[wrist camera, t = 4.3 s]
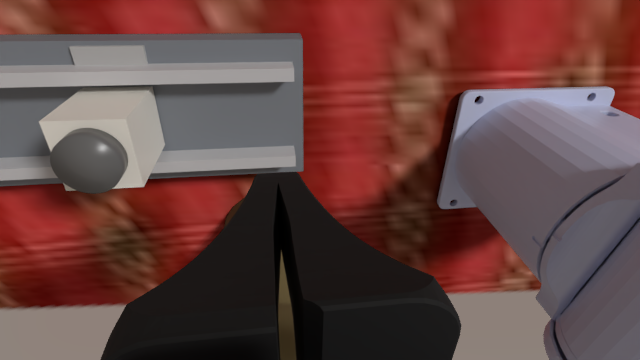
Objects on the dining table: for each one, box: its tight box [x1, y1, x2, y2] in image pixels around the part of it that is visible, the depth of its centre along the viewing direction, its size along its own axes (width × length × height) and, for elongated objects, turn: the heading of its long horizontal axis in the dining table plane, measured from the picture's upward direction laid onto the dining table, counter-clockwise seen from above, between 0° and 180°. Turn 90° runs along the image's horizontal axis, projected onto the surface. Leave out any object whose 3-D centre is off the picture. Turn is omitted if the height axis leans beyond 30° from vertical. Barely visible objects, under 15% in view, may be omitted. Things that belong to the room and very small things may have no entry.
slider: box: [39, 86, 165, 194], centre depth 16 cm, size 3×3×5 cm
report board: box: [0, 33, 303, 186], centre depth 18 cm, size 18×7×4 cm, turn 89°
